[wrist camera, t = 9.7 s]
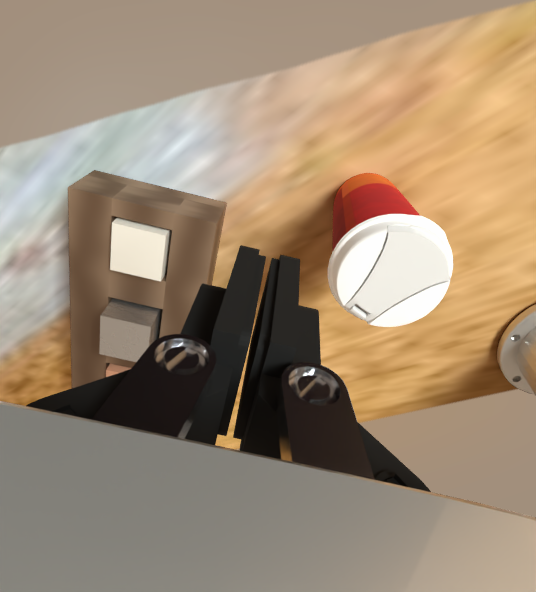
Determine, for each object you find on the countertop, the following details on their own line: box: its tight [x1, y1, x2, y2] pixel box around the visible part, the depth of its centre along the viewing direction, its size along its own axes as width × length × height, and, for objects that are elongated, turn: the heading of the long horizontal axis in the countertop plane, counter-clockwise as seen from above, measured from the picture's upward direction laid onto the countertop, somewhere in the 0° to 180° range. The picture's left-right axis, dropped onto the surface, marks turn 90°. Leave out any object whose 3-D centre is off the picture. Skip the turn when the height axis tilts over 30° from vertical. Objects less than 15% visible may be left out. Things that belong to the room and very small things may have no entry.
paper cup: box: [328, 173, 453, 327], centre depth 32 cm, size 8×8×14 cm
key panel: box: [68, 170, 227, 388], centre depth 43 cm, size 12×24×5 cm, turn 167°
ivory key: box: [110, 217, 172, 282], centre depth 38 cm, size 4×4×4 cm
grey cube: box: [99, 298, 163, 362], centre depth 40 cm, size 4×4×4 cm
